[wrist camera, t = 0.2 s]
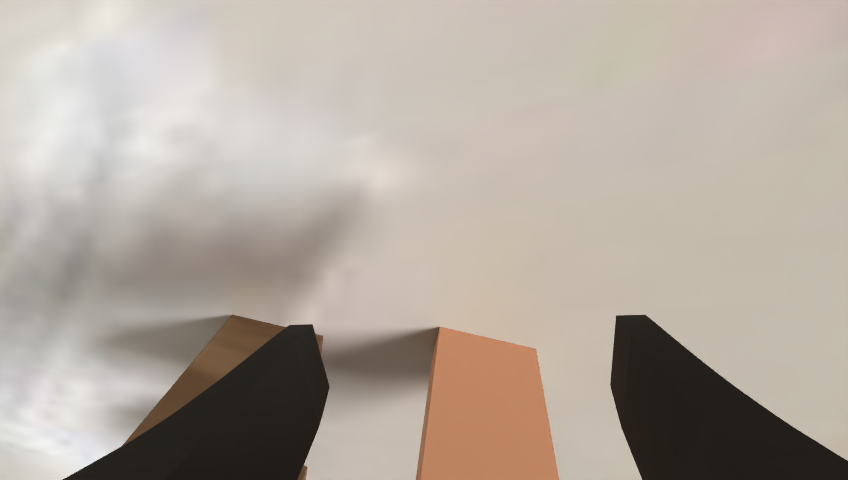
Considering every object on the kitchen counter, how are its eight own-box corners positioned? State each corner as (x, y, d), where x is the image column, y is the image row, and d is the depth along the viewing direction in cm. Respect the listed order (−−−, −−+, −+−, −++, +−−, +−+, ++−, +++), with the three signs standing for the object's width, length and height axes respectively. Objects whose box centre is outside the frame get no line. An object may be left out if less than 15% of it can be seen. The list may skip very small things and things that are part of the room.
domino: (320, 358, 24) (242, 524, 16) (232, 338, 24) (110, 493, 16) (323, 336, 24) (243, 498, 16) (232, 314, 24) (105, 466, 16)
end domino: (526, 372, 23) (551, 558, 15) (433, 350, 23) (409, 525, 15) (535, 349, 22) (568, 532, 14) (439, 326, 22) (418, 497, 14)
